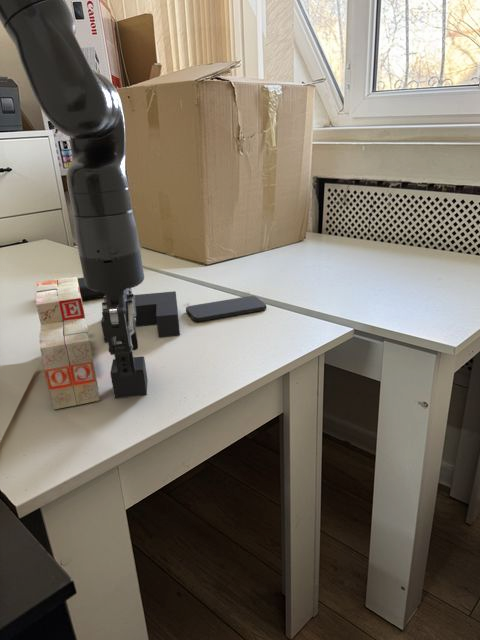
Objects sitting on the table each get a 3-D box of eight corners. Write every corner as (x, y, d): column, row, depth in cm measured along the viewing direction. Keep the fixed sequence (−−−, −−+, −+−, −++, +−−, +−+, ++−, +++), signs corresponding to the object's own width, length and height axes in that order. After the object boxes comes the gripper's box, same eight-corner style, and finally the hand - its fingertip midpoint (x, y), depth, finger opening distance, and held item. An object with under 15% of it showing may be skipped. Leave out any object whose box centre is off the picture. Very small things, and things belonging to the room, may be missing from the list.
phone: (268, 306, 100) (195, 318, 94) (268, 310, 100) (195, 322, 95) (253, 295, 106) (184, 306, 100) (253, 298, 106) (184, 310, 101)
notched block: (104, 342, 88) (100, 321, 86) (111, 316, 100) (107, 297, 98) (179, 335, 90) (177, 314, 88) (177, 310, 102) (175, 291, 100)
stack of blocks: (101, 401, 70) (85, 318, 65) (53, 411, 68) (32, 326, 63) (90, 343, 88) (77, 275, 83) (52, 350, 86) (36, 280, 81)
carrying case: (116, 282, 120) (50, 292, 115) (114, 269, 119) (48, 279, 114) (125, 295, 111) (54, 306, 106) (123, 281, 110) (51, 292, 105)
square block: (114, 398, 71) (110, 373, 69) (117, 383, 75) (112, 359, 73) (146, 394, 71) (143, 369, 70) (147, 380, 75) (144, 355, 73)
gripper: (86, 238, 70) (106, 345, 77) (69, 265, 57) (96, 390, 64) (141, 234, 71) (156, 339, 78) (137, 259, 58) (156, 383, 65)
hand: (129, 362), depth 71 cm, fingers open, 8 cm apart
